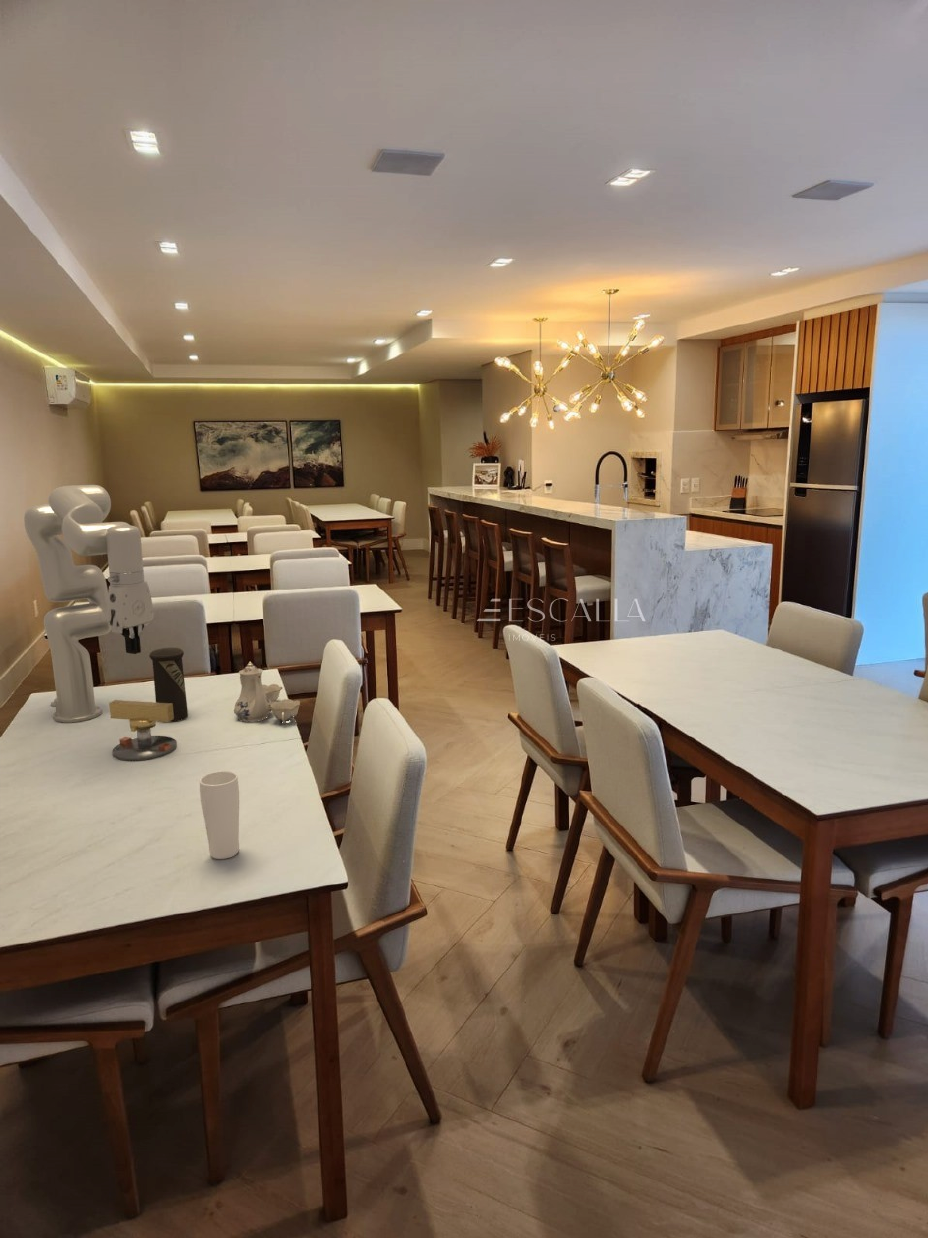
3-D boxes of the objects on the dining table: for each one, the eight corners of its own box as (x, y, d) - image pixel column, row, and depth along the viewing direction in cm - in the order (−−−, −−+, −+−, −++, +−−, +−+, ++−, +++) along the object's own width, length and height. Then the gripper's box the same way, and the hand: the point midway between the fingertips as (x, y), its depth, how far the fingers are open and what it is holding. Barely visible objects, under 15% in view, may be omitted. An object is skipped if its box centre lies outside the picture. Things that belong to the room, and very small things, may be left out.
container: (178, 724, 219) (172, 653, 215) (149, 722, 221) (142, 652, 217) (195, 714, 228) (189, 646, 223) (166, 712, 229) (160, 644, 225)
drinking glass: (210, 845, 151) (203, 771, 148) (246, 843, 152) (241, 770, 149) (201, 863, 145) (195, 786, 141) (239, 861, 145) (233, 784, 142)
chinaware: (310, 728, 219) (313, 669, 217) (252, 735, 210) (254, 673, 207) (272, 703, 242) (274, 649, 239) (217, 708, 232) (219, 652, 230)
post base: (99, 756, 196) (96, 733, 195) (144, 736, 210) (142, 714, 209) (146, 764, 191) (144, 741, 189) (189, 743, 204) (187, 721, 203)
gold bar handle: (162, 734, 193) (159, 710, 192) (103, 730, 196) (101, 706, 195) (181, 722, 201) (179, 699, 200) (125, 718, 205) (122, 696, 203)
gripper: (114, 584, 181) (121, 662, 185) (162, 574, 194) (167, 647, 198) (89, 582, 183) (97, 658, 188) (138, 572, 197) (144, 643, 201)
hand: (133, 652), depth 193 cm, fingers closed
